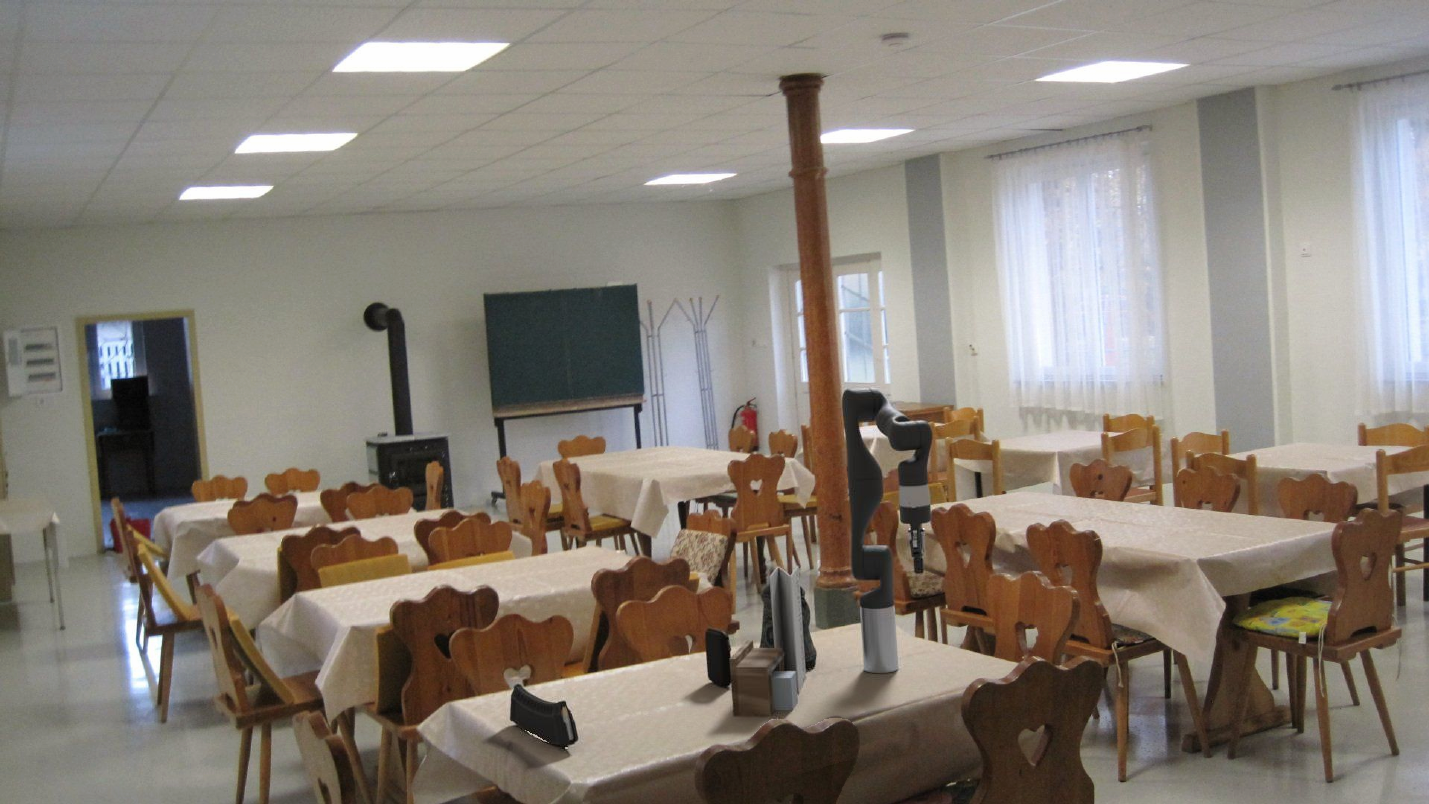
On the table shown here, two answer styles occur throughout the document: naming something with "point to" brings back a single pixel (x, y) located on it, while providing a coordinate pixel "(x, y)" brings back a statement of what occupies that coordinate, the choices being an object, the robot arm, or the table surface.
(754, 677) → the cubby
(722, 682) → the carrying case or bag
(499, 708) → the table surface
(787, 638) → the brochure
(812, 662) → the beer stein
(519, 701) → the magazine
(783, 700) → the grey block
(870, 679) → the table surface
